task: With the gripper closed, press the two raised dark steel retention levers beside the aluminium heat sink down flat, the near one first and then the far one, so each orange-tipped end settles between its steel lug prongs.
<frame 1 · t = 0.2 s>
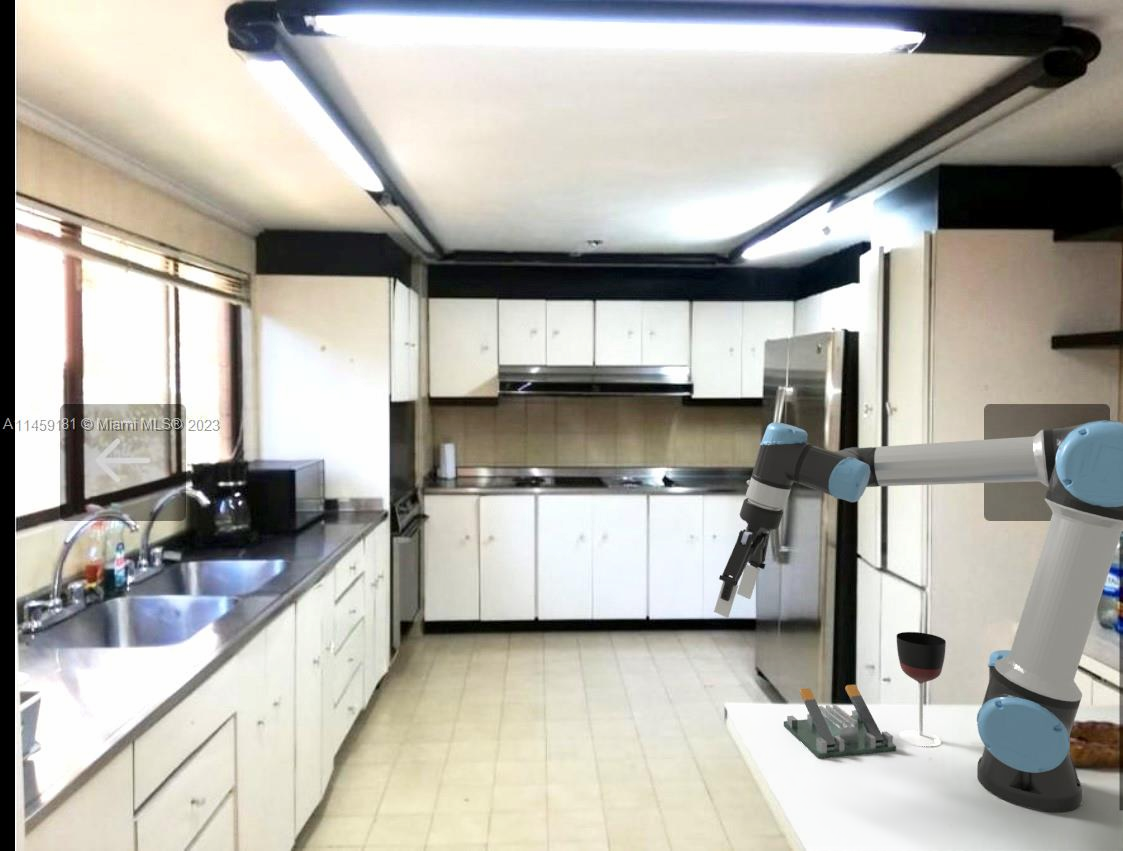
hand: (732, 604, 140), 28 cm above the countertop, tool tilted 15°, fingers open, 13 cm apart
lever far: (863, 713, 143), point 5 cm above the countertop, hinge at 35.0°
lever near: (817, 717, 141), point 5 cm above the countertop, hinge at 35.0°
circuit board: (837, 738, 143), on the countertop
wineglass: (920, 739, 143), on the countertop
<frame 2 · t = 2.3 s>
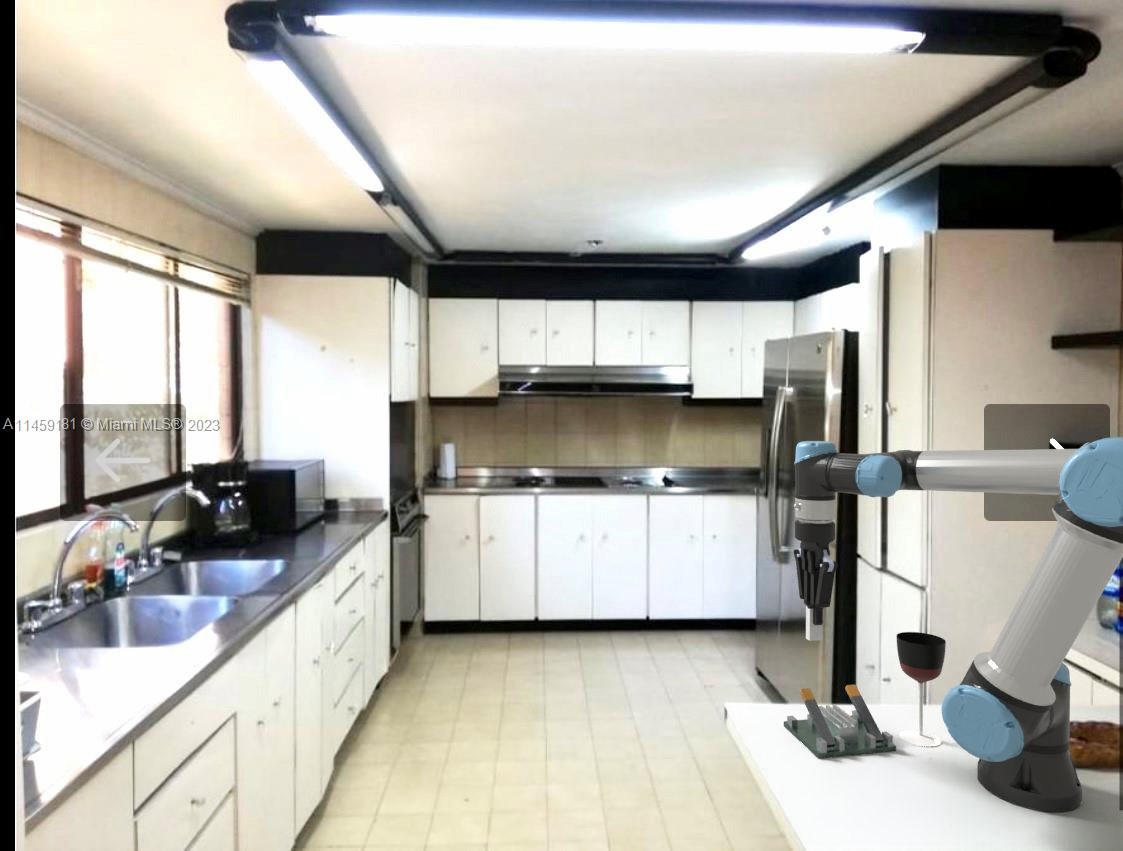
hand: (814, 639, 141), 20 cm above the countertop, tool pointing down, fingers closed
nothing on the countertop moved.
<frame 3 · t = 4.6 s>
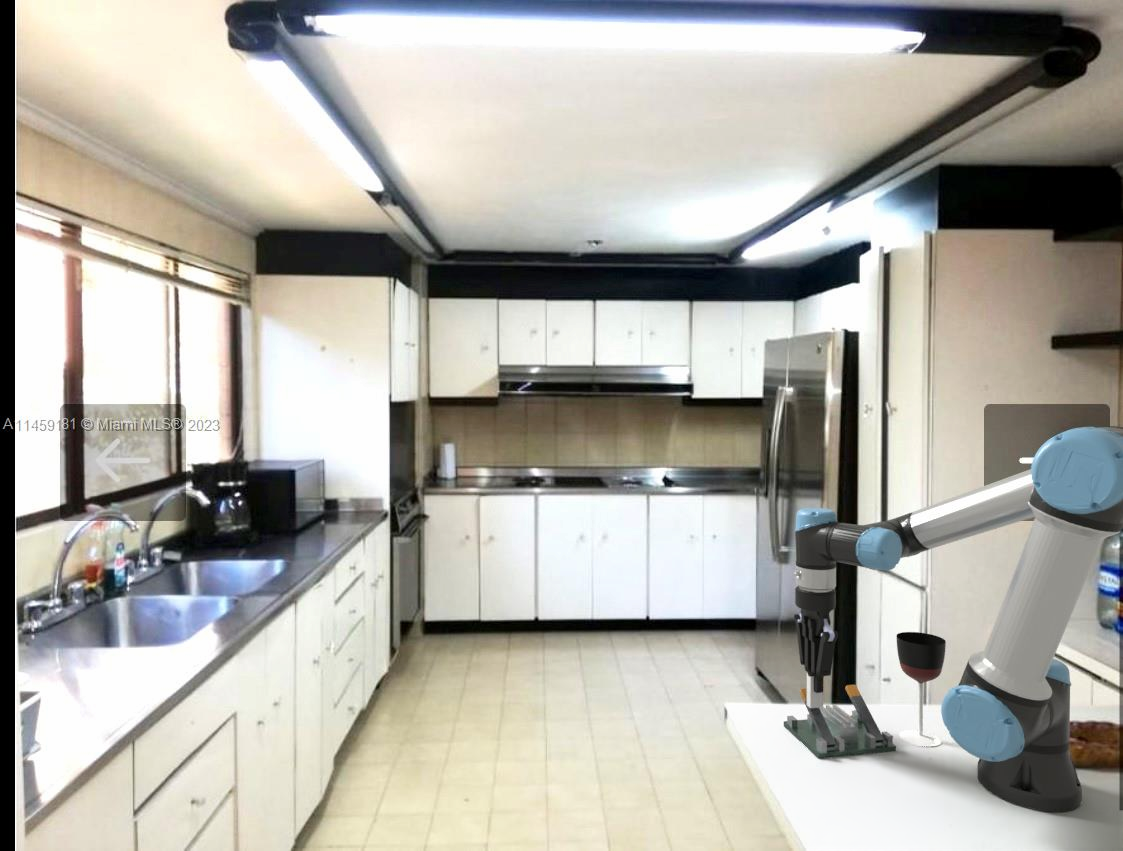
hand: (814, 706, 142), 7 cm above the countertop, tool pointing down, fingers closed
lever near: (817, 717, 141), point 5 cm above the countertop, hinge at 35.0°, touching gripper
everything else where it was.
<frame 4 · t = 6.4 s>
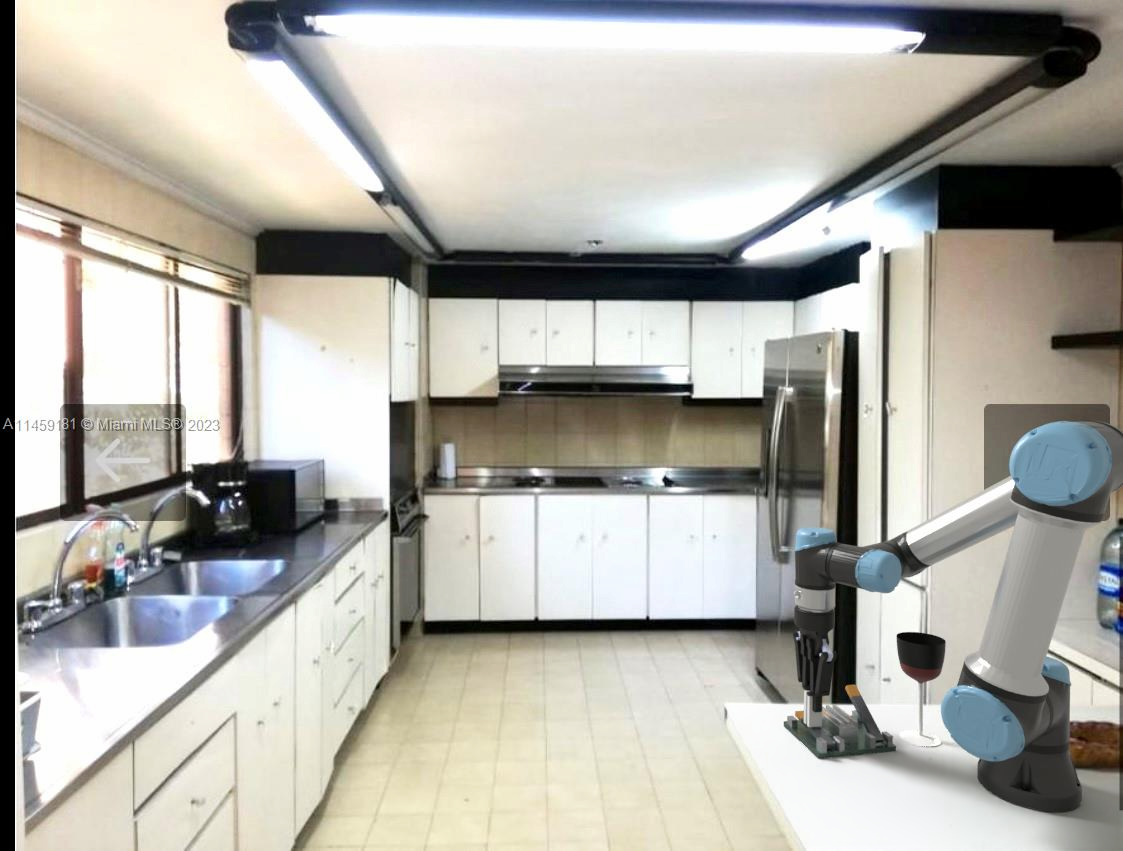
hand: (812, 724, 142), 3 cm above the countertop, tool pointing down, fingers closed, pressing on lever near
lever near: (814, 728, 142), point 2 cm above the countertop, hinge at 5.9°, touching gripper
everything else where it was.
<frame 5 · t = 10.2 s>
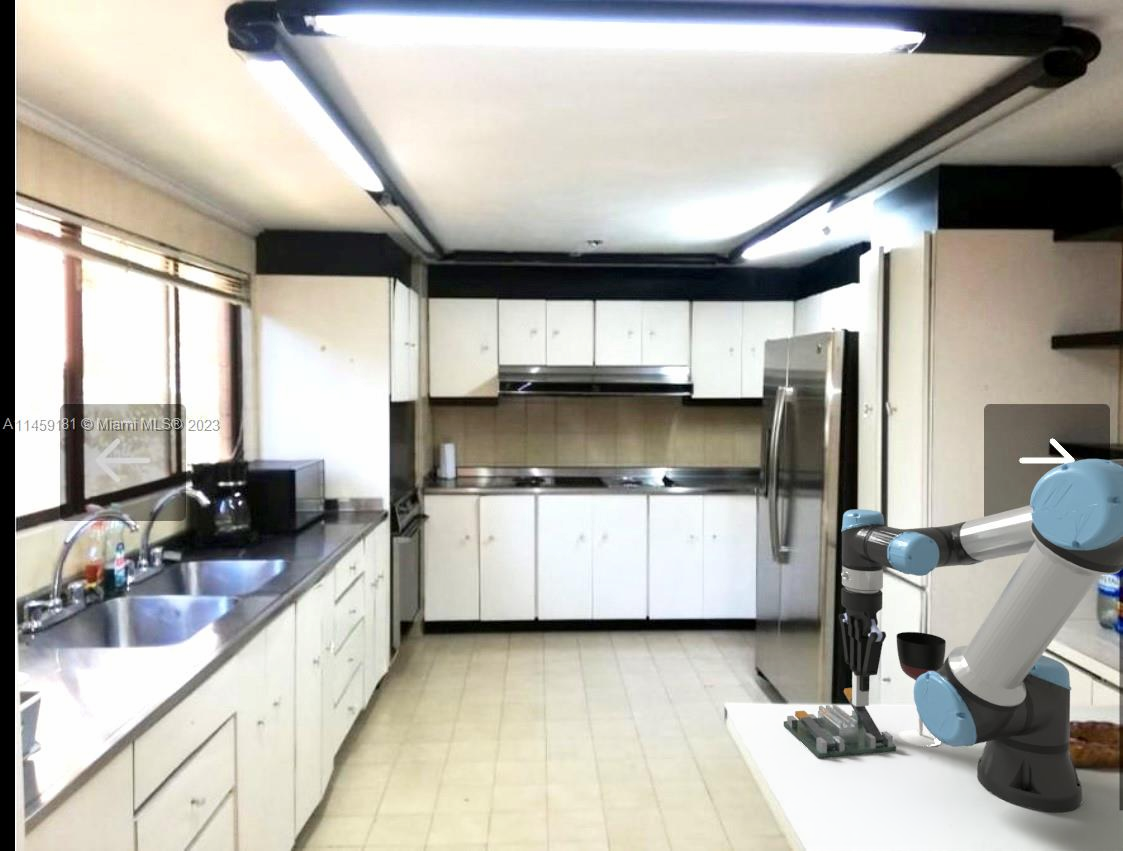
hand: (860, 704, 144), 6 cm above the countertop, tool pointing down, fingers closed
lever far: (863, 714, 143), point 5 cm above the countertop, hinge at 29.8°, touching gripper
lever near: (814, 728, 142), point 2 cm above the countertop, hinge at 5.9°
everything else where it was.
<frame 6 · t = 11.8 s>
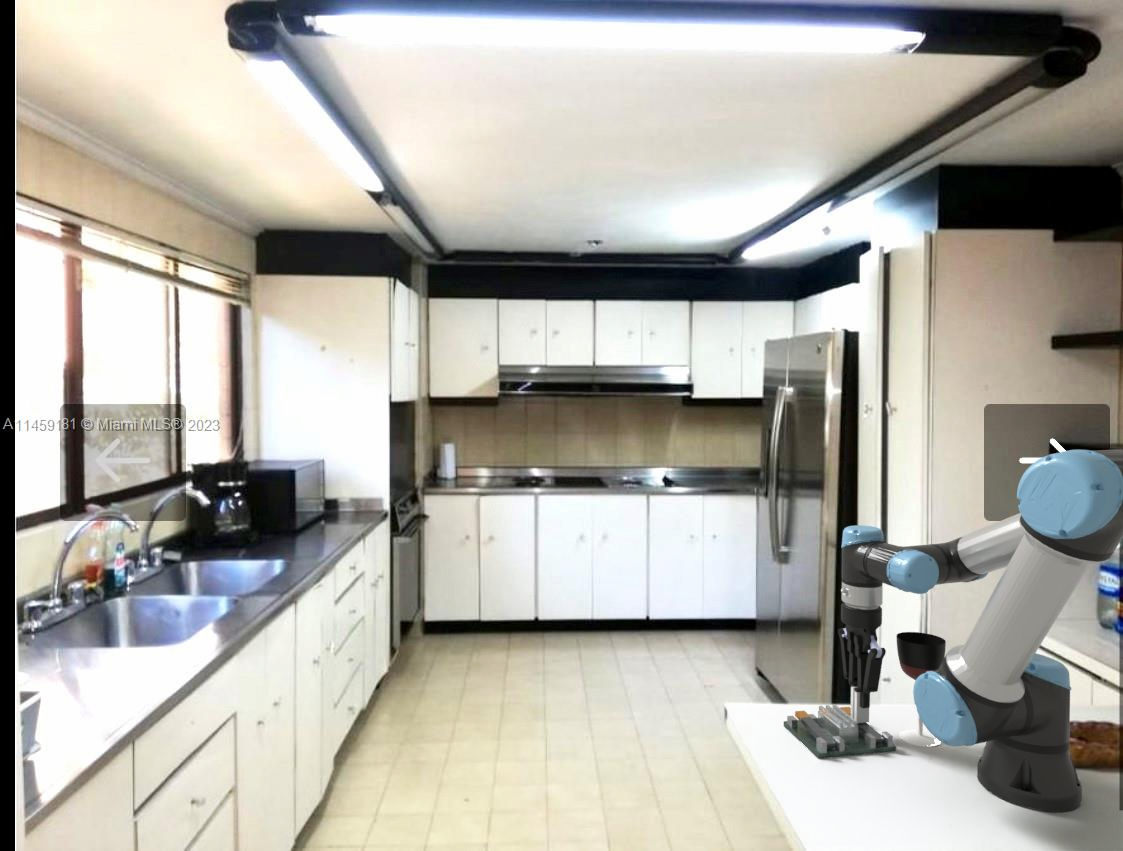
hand: (859, 720, 144), 3 cm above the countertop, tool pointing down, fingers closed, pressing on lever far
lever far: (860, 724, 144), point 2 cm above the countertop, hinge at 6.0°, touching gripper
everything else where it was.
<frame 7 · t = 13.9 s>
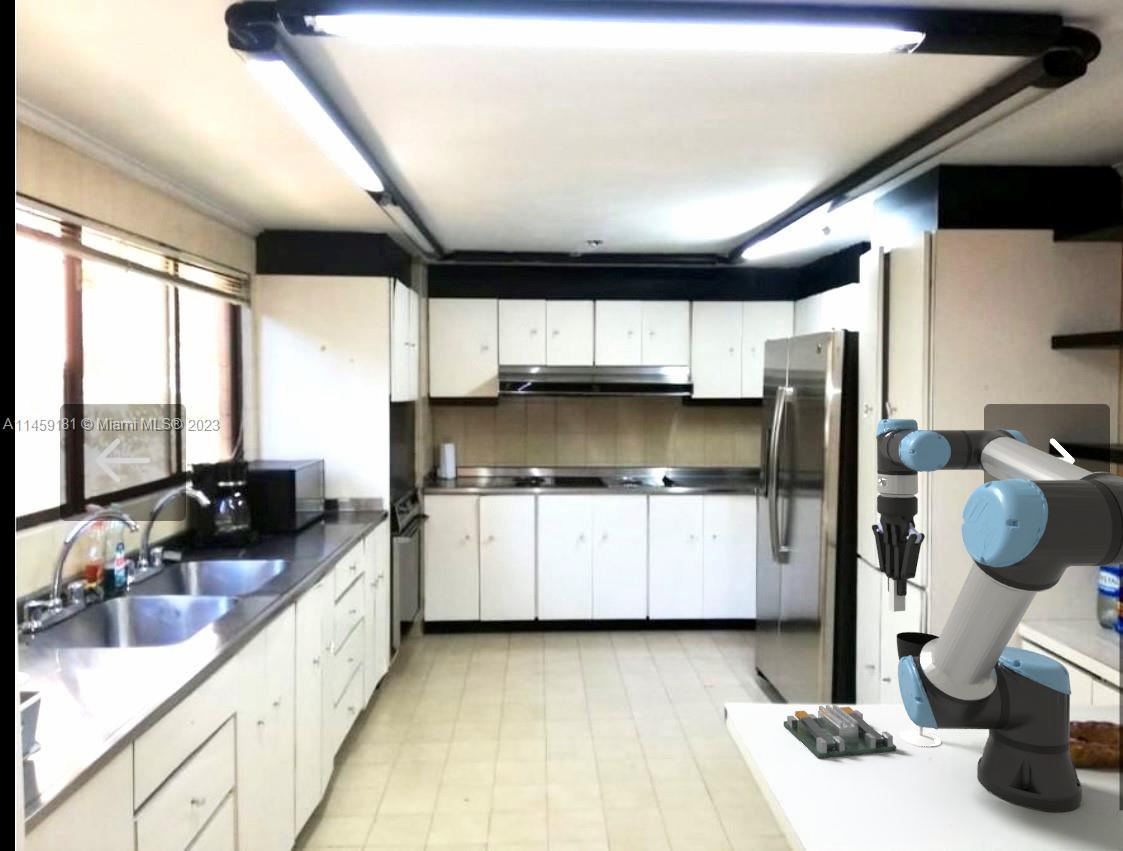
hand: (897, 610, 147), 24 cm above the countertop, tool pointing down, fingers closed
lever far: (860, 724, 144), point 2 cm above the countertop, hinge at 5.9°
everything else where it was.
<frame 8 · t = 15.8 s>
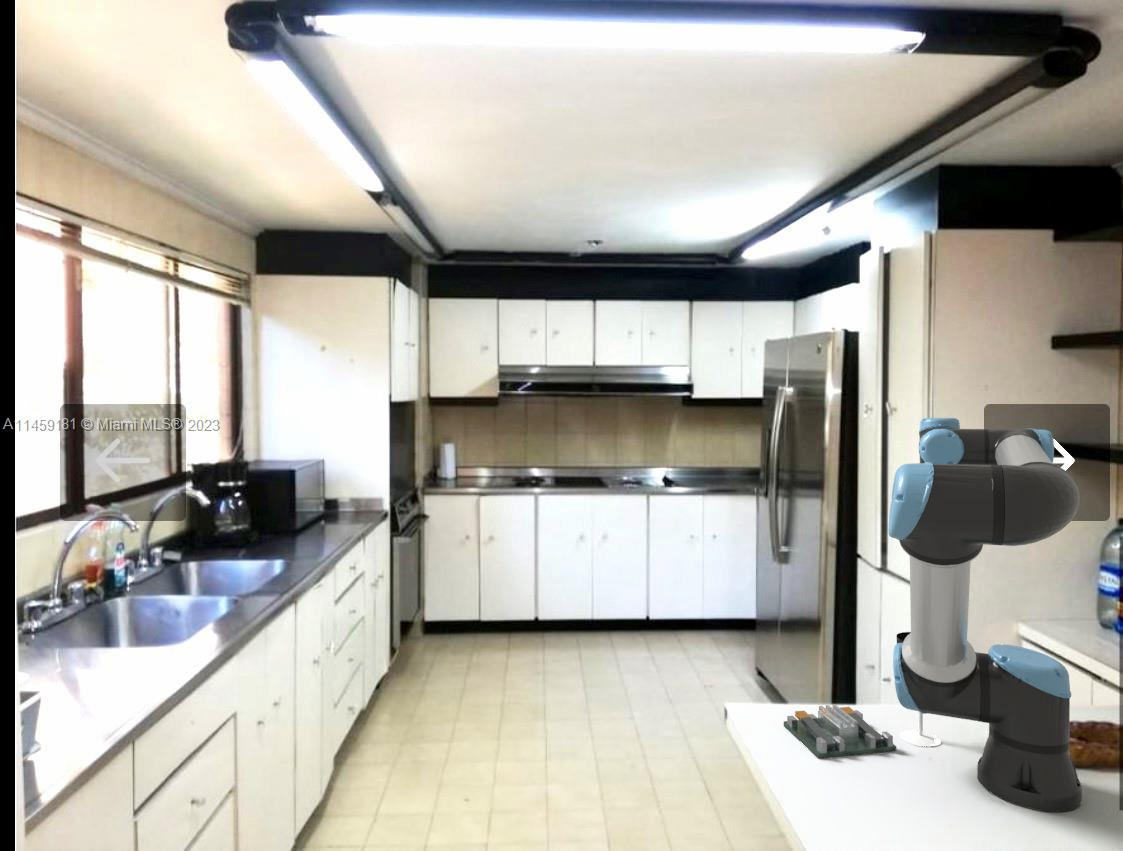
hand: (939, 602, 151), 24 cm above the countertop, tool pointing down, fingers closed
nothing on the countertop moved.
at the end: lever near at +6° (first picture: +35°); lever far at +6° (first picture: +35°); wineglass moved 0.2 cm from its start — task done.
